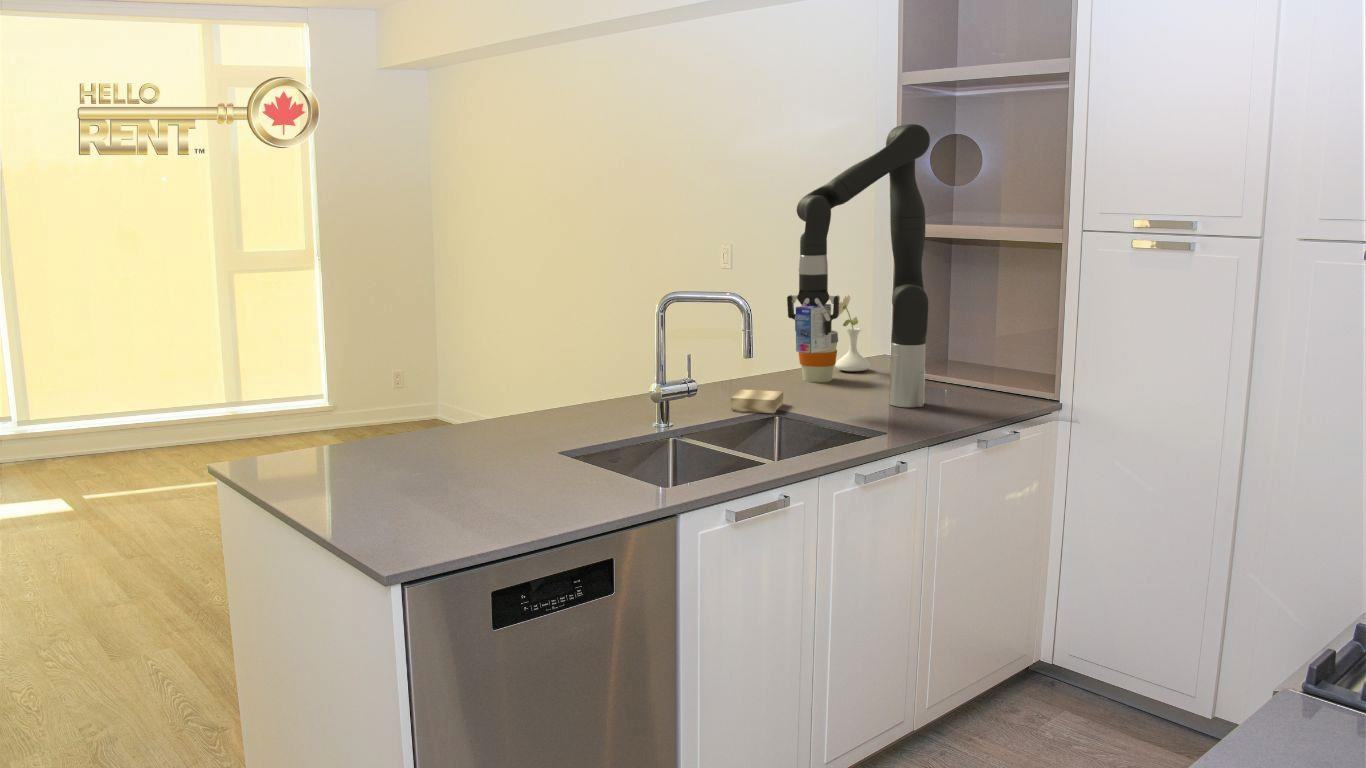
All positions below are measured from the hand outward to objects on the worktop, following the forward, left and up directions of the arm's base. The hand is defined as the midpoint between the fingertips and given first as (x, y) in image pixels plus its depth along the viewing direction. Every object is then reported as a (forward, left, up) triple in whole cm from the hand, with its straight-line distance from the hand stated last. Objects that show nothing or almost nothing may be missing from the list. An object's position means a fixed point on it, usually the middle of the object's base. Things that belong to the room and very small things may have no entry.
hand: (813, 334), depth 280 cm
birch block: (+15, 0, -21) cm, 26 cm away
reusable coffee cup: (+6, -45, -21) cm, 50 cm away
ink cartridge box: (0, 0, -5) cm, 5 cm away
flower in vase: (-2, -63, -21) cm, 66 cm away
